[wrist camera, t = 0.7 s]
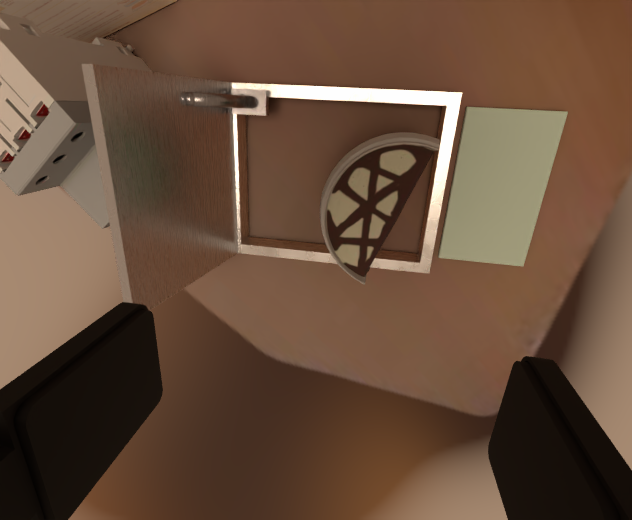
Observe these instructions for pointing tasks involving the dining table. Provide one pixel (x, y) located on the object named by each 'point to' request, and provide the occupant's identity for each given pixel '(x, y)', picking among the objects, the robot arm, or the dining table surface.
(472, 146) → the mat
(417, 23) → the dining table surface
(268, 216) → the dining table surface
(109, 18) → the coffeecake box
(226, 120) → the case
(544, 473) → the robot arm
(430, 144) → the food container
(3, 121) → the circuit breaker
